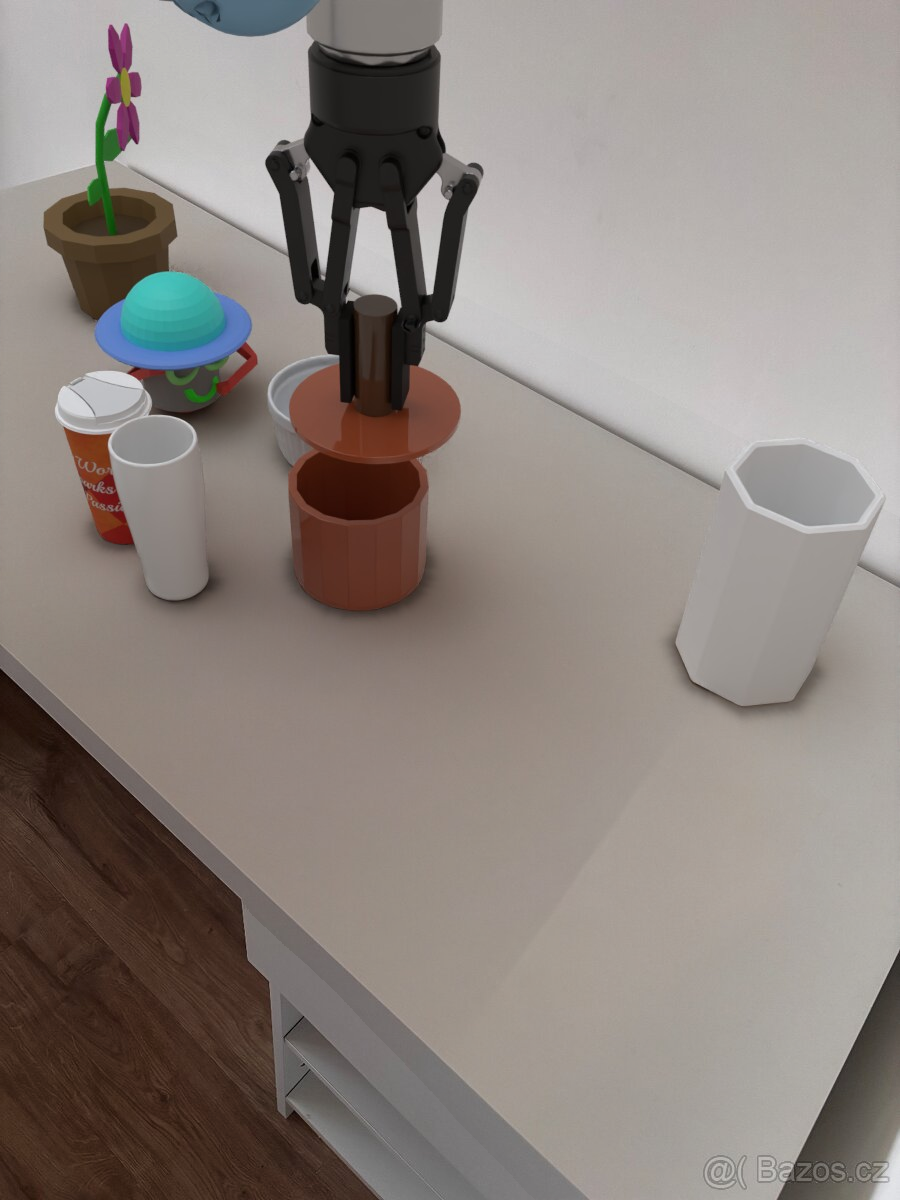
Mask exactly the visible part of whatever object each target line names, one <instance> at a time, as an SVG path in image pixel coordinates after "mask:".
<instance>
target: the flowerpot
mask: <svg viewBox="0 0 900 1200" xmlns="http://www.w3.org/2000/svg"><path fill="white" fill-rule="evenodd" d="M107 45H108V46H107V49H108V53H109V57H110V61H111V65H112V66H111V67H112V68H113V69H114V71H115V72H116V75H115V76H111V77H110V76H109V77H107V78H106V83H105V93H104V94H103V97H102V102H101V104H100V108H99V110H98V114H97V116H96V120H95V129H94V131H95V132H94V133H95V134H94V135H95V137H94V139H95V141H94V143H95V151H94V153H95V155H94V156H95V158H94V159H95V160H94V161H95V162H94V163H95V168H96V173H97V177H96V178H93V179H92V180H91V181H90V183H89V184H88V185H87V187H86V190H84V191H81V192H79V193H74V194H72V195H68V196H65V197H61V198H60V199H58V201H56V202H55V203H54V204H52V205H51V206H50V207H48V208H47V209H45V211H43V224H42V225H43V227H42V228H43V233H44V236H45V239H46V244H47V247H49V248H51V250H53V251H55V252H56V253H57V254H59V255H61V258H62V262H63V264H64V266H65V269H66V273H67V275H68V277H69V280H70V282H71V286H72V288H73V291H74V294H75V295H76V299H77V301H78V304H79V307H80V309H81V311H83V312H84V313H86V314H87V315H88V316H90V317H91V318H92V319H93V320H99V319H100V318H101V316H102V315H103V314H104V313H105V312H106V311H107V310H108V309H109V308H110V307H112V306H113V305H115V304H116V303H118V302H120V301H122V300H124V299H126V297H127V295H128V293H129V292H130V291H131V289H132V288H133V287H134V286H135V285H136V284H137V283H138V282H140V281H141V280H142V279H144V278H145V277H147V276H149V275H152V274H155V273H159V272H166V271H170V255H169V252H170V251H169V245H170V244H171V243H172V242H173V241H175V240H176V239H177V238H178V229H177V221H176V215H175V209H174V204H173V203H172V202H170V201H169V200H167V199H165V198H163V197H162V196H161V195H159V194H157V193H156V192H152V191H147V190H146V191H145V190H140V189H135V188H128V187H112V188H110V186H109V181H108V174H107V170H106V164H105V162H113V161H114V160H115V159H116V158H118V157H119V155H121V153H122V152H125V151H126V149H127V146H128V144H129V143H130V142H131V140H132V141H133V142H134V144H135V145H139V142H140V119H139V115H138V111H137V107H136V105H135V104H134V103H133V102H132V100H131V98H139V97H141V95H142V77H141V75H140V73H139V71H131V72H129V71H130V69H131V67H132V65H133V40H132V35H131V29H130V26H129V24H128V23H127V22H126V23H125V22H124V24H123V27H122V28H121V31H120V34H118V32H117V30H116V28H115V27H114V25H113V24H109V25H108V28H107ZM117 104H119V105H118V108H117V111H116V127H114V128H111V129H108V130H106V132H105V128H106V127H105V126H106V123H107V120H108V118H109V114H110V111H111V107H112V105H117Z"/></svg>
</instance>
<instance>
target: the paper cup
mask: <svg viewBox="0 0 900 1200" xmlns="http://www.w3.org/2000/svg"><path fill="white" fill-rule="evenodd" d="M126 373H127V372H122V371H118V370H117V371H116V370H98V371H92V372H88V373H84V375H83V377H82V376H79V377H77V378H76V379H73V380H72V381H69V382H68V385H63V386H62V387H61V388H60V390H59V392H58V395H57V402H56V404H55V407H54V415H55V418H56V420H57V422H58V423H59V424H60V425H61V426H62V428H63V431H64V434H65V437H66V440H67V443H68V447H69V450H70V452H71V455H72V459H73V462H74V465H75V467H76V471H77V474H78V477H79V481H80V483H81V486H82V488H83V492H84V495H85V498H86V501H87V504H88V507H89V510H90V512H91V516H92V518H93V521H94V525H95V527H96V530H97V532H98V534H99V535H100V537H101V538H103V540H105V541H107V542H109V543H112V544H117V545H132V544H134V541H133V538H132V535H131V532H130V529H129V526H128V523H127V520H126V517H125V514H124V511H123V508H122V506H121V502H120V499H119V496H118V493H117V490H116V486H115V482H114V478H113V473H112V468H111V462H110V456H109V449H108V441H109V438H110V436H111V434H112V433H113V432H114V431H115V430H116V429H117V428H118V427H119V426H121V425H122V424H124V423H126V422H128V421H130V420H132V419H135V418H139V417H143V416H149V415H150V413H151V410H152V407H153V405H152V400H151V397H150V395H149V394H148V392H147V391H146V390H145V388H144V384H142V383H141V380H137V379H136V378H135V377H133V376H131V375H129V374H126Z"/></svg>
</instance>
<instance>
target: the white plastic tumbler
mask: <svg viewBox="0 0 900 1200" xmlns="http://www.w3.org/2000/svg"><path fill="white" fill-rule="evenodd" d="M108 449H109V456H110V462H111V468H112V473H113V478H114V482H115V486H116V490H117V493H118V496H119V499H120V502H121V506H122V508H123V511H124V514H125V517H126V520H127V523H128V526H129V529H130V532H131V535H132V538H133V541H134V543H133V544H134V547H135V550H136V553H137V556H138V559H139V562H140V565H141V568H142V572H143V576H144V577H143V578H144V582H145V585H146V587H147V589H148V590H149V591H150V592H151V593H152V594H153V595H154V596H156V597H157V598H160V599H162V600H165V601H166V600H167V601H183V600H187V599H190V598H193V597H194V596H197V595H198V594H200V592H202V591H203V590H204V589H205V587H206V586H207V584H208V583H209V579H210V568H209V560H208V545H207V518H206V492H205V491H206V489H205V488H206V487H205V474H204V467H203V460H202V459H203V458H202V454H201V448H200V443H199V439H198V434H197V432H196V430H195V428H194V427H193V426H192V425H191V424H190V423H188V421H185V420H184V419H182V418H179V417H175V416H172V415H166V414H165V415H164V414H149V416H143V417H139V418H135V419H132V420H130V421H128V422H126V423H124V424H122V425H121V426H119V427H118V428H117V429H116V430H115V431H114V432H113V433H112V434H111V436H110V438H109V441H108Z"/></svg>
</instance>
